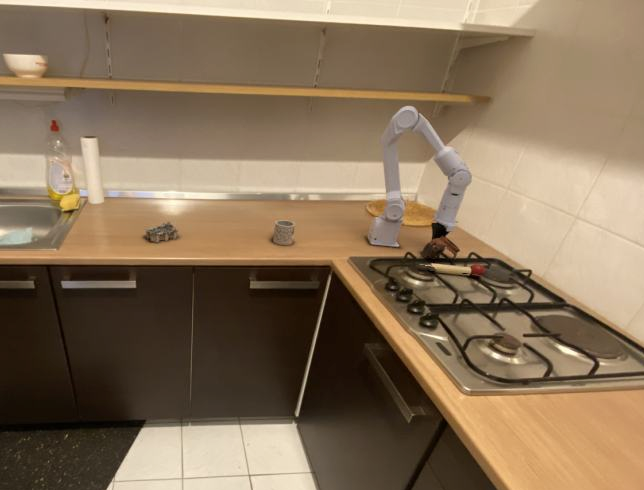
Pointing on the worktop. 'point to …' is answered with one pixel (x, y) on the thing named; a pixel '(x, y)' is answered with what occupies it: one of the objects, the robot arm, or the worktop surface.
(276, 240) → the mug
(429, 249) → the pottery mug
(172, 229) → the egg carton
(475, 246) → the worktop surface
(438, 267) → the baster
